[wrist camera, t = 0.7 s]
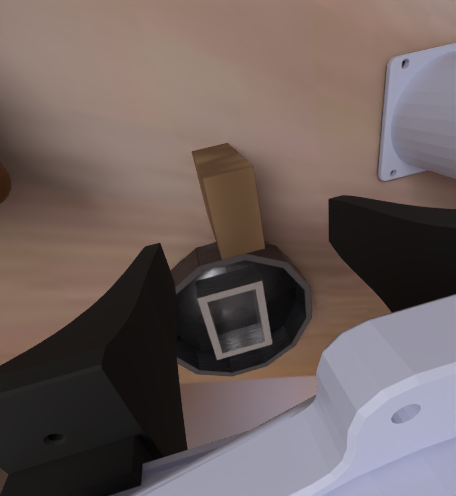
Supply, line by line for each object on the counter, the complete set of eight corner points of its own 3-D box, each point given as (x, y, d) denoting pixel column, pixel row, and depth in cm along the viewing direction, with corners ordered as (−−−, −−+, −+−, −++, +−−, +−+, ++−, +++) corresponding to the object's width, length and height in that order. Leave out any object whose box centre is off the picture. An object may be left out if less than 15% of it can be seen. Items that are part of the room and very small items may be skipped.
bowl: (294, 221, 23) (308, 236, 20) (303, 332, 29) (314, 352, 27) (136, 263, 22) (133, 283, 19) (181, 367, 28) (182, 391, 26)
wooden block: (227, 142, 19) (253, 166, 13) (238, 205, 21) (265, 248, 15) (191, 151, 19) (202, 179, 13) (207, 213, 21) (222, 259, 15)
